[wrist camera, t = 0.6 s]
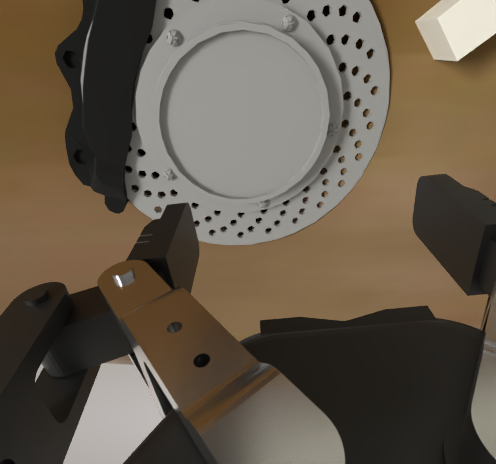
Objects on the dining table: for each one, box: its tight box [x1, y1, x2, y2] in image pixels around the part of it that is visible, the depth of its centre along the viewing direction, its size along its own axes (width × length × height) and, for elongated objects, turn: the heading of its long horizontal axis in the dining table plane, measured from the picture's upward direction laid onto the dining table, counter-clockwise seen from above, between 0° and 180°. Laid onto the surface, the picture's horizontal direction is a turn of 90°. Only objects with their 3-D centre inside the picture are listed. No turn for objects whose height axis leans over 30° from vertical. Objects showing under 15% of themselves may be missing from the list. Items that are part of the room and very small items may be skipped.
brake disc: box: [55, 0, 390, 245], centre depth 33 cm, size 32×30×5 cm
